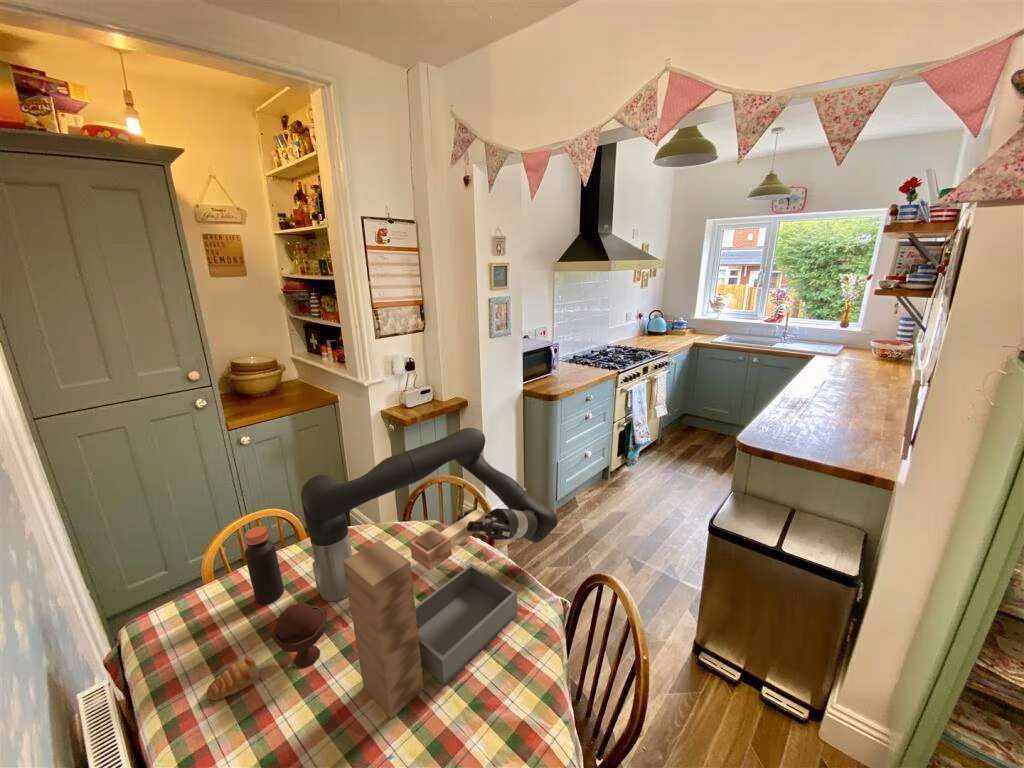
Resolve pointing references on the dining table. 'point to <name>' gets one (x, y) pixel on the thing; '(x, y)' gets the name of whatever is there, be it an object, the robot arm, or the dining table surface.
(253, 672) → the pastry
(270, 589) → the bottle
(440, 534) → the catapult arm
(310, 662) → the ice cream bowl
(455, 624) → the bin
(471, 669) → the dining table surface
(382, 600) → the tower
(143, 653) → the dining table surface
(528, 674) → the dining table surface
